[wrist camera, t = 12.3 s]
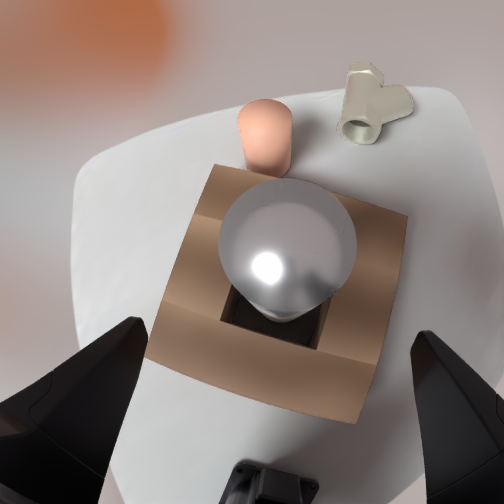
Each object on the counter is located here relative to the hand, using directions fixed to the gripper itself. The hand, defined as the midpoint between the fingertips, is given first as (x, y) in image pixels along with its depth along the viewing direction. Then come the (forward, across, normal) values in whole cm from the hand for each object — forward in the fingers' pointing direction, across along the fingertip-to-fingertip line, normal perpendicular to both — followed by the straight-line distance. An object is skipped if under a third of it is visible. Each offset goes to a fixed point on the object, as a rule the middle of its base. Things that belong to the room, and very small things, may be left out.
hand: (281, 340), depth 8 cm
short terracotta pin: (+17, +2, -2) cm, 17 cm away
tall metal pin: (+10, 0, +6) cm, 11 cm away
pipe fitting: (+22, -8, -5) cm, 24 cm away
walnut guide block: (+10, 0, +6) cm, 11 cm away
